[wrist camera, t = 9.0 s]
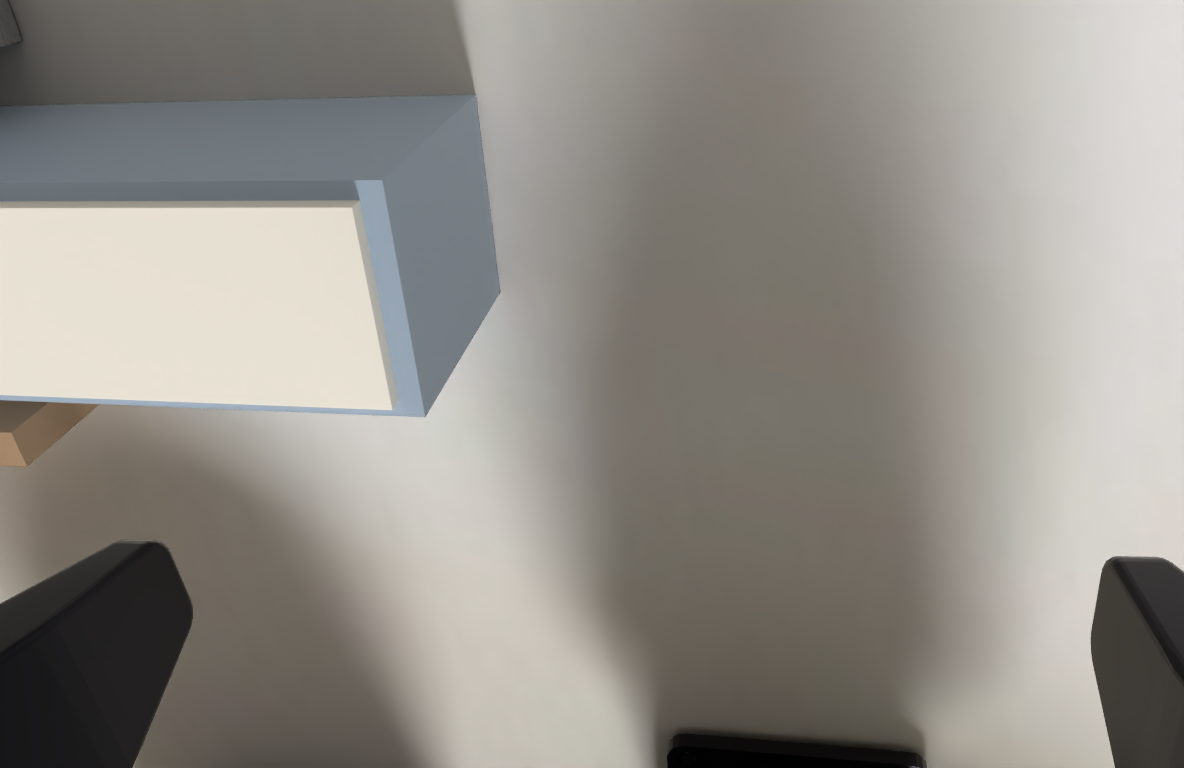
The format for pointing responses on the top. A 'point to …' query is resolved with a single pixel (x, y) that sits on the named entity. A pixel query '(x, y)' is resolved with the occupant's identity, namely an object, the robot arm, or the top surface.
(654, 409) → the top surface
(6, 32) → the bookend
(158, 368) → the book
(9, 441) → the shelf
